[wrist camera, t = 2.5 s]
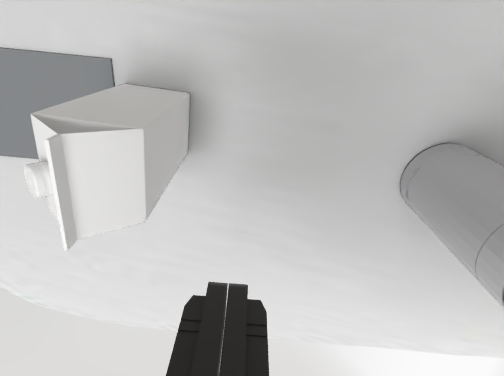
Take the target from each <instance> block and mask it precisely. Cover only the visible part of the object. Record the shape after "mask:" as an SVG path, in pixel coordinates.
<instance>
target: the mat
mask: <svg viewBox="0 0 504 376" xmlns="http://www.w3.org/2000/svg"><path fill="white" fill-rule="evenodd" d="M112 87H115V86H114V77H113V68H112V59H108V58H98V57H88V56H78V55H68V54H58V53H48V52H38V51H28V50H18V49H8V48H0V156H10V157H21V158H32V159H39V157H38V152H37V147H36V141H35V136H34V131H33V126H32V121H31V113H34V112H37V111H40V110H43V109H46V108H49V107H52V106H56V105H59V104H62V103H65V102H68V101H71V100H74V99H78V98H81V97H84V96H87V95H90V94H93V93H96V92H100V91H103V90H106V89H109V88H112Z"/></svg>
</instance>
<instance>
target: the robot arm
mask: <svg viewBox="0 0 504 376" xmlns="http://www.w3.org/2000/svg"><path fill="white" fill-rule="evenodd" d="M400 191H401V194H402V197H403V199H404V200H405V202H406V203H407V204H408V205H409V206H410V207H411V209H412V210H413V211H414V212H415V213H416V214H417V215H418V216H419V217H420V218H421V220H422V221H423V222H424V223H425V224H426V225H427V226H428V227H429V228H430V229H431V230H432V232H433V233H434V234H435V235H436V236H437V237H438V238H439V239H440V240H441V241H442V242H443V243H444V244H445V246H446V247H447V248H448V249H449V250H450V251H451V252H452V253H453V254H454V255H455V256H456V257H457V259H458V260H459V261H460V262H461V263H462V264H463V265H464V266H465V267H466V268H467V269H468V270H469V272H470V273H471V274H472V275H473V276H474V277H475V278H476V279H477V280H478V281H479V282H480V283H481V285H482V286H484V288H485V289H486V290H487V291H488V292H489V293H490V294H491V295H492V296H493V297H494V298H495V299H496V300H497V302H498V303H499V304H500V305H501V306H502V307H503V308H504V166H502V165H500V164H498V163H496V162H494V161H492V160H491V159H489V158H487V157H485V156H483V155H481V154H479V153H477V152H475V151H473V150H471V149H469V148H467V147H465V146H462V145H459V144H452V143H448V144H440V145H436V146H433V147H431V148H429V149H427V150H424V151H423V152H422V153H420V154H419V155H417V156H416V157H415V158H414V159H413V160H412V161H411V162H410V163H409V165H408V166H407V167H406V169H405V171H404V173H403V175H402V178H401V183H400ZM227 285H228V283H217V282H209V283H208V288H207V293H206V296H196V295H193V296H192V297H191V299H190V300H189V301H188V302H187V304H186V305H185V306H184V310H183V314H182V318H181V322H180V325H179V329H178V333H177V336H176V340H175V344H174V348H173V352H172V355H171V359H170V363H169V366H168V370H167V374H166V376H269V363H268V339H267V314H266V310H265V308H264V306H263V304H262V302H261V300H251V299H247V294H248V285H244V284H231V283H229V289H228V298H227ZM226 299H227V308H226ZM225 312H226V317H225ZM224 323H225V326H224ZM223 333H224V335H223ZM222 342H223V345H222ZM221 351H222V354H221ZM220 360H221V363H220ZM219 369H220V372H219Z"/></svg>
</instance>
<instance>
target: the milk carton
mask: <svg viewBox="0 0 504 376" xmlns="http://www.w3.org/2000/svg"><path fill="white" fill-rule="evenodd" d="M189 108H190V93H187V92H180V91H173V90H166V89H159V88H152V87H145V86H138V85H131V84H121V85H118V86H115V87H112V88H109V89H106V90H103V91H100V92H96V93H93V94H90V95H87V96H84V97H81V98H78V99H74V100H71V101H68V102H65V103H62V104H59V105H56V106H52V107H49V108H46V109H43V110H40V111H37V112H34V113H31V121H32V126H33V131H34V136H35V141H36V147H37V152H38V157H39V162H38V163H31V164H26V165H25V166H24V174H25V179H26V182H27V185H28V188H29V190H30V192H31V193H32V195H33V196H34V197H35V198H37V199H39V198H43V197H46V198H47V203H48V207H49V211H50V213H51V214H52V215H53V216H54V217H55V218H56V220H57V221H58V222H59V225H60V230H61V236H62V242H63V247H64V250H67V251H68V250H69V249H70V248H71V246H72V245H73V244H74V243H75V242H76V241H77V240H81V239H85V238H88V237H92V236H96V235H100V234H103V233H107V232H111V231H114V230H118V229H122V228H126V227H129V226H133V225H137V224H140V223H144V222H146V220H147V218H148V217H149V215H150V213H151V212H152V210H153V208H154V207H155V205H156V204H157V202H158V200H159V199H160V197H161V195H162V194H163V192H164V191H165V189H166V187H167V186H168V184H169V182H170V181H171V179H172V178H173V176H174V174H175V173H176V171H177V170H178V168H179V166H180V165H181V163H182V161H183V160H184V158H185V157H186V155H187V152H188V132H189Z"/></svg>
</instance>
